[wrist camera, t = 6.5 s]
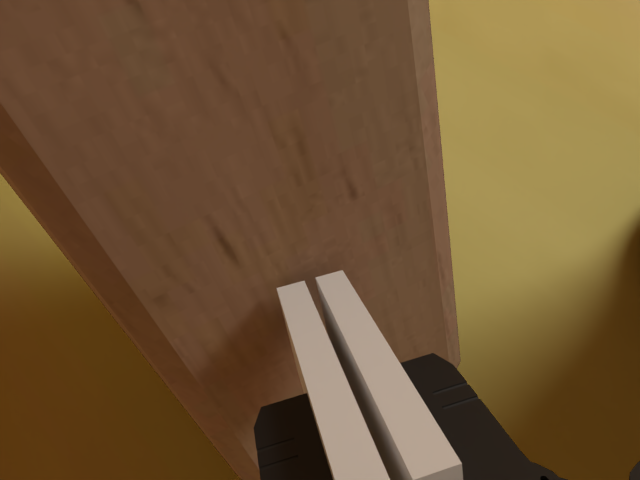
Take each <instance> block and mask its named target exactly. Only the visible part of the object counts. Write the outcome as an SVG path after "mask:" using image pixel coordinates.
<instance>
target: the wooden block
mask: <svg viewBox="0 0 640 480" xmlns="http://www.w3.org/2000/svg"><path fill="white" fill-rule="evenodd" d="M0 173H1V175H2V176H3V177H4V178H5V180H6V181H7V182H8V184H9V185H10V186H11V187H12V189H13V190H14V191H15V192H16V194H17V195H18V196H19V198H20V199H21V200H22V201H23V203H24V204H25V205H26V206H27V208H28V209H29V210H30V212H31V213H32V214H33V215H34V217H35V218H36V219H37V221H38V222H39V223H40V224H41V226H42V227H43V228H44V229H45V231H46V232H47V233H48V235H49V236H50V237H51V238H52V240H53V241H54V242H55V244H56V245H57V246H58V247H59V249H60V250H61V251H62V252H63V254H64V255H65V256H66V258H67V259H68V260H69V261H70V263H71V264H72V265H73V266H74V268H75V269H76V270H77V272H78V273H79V274H80V275H81V277H82V278H83V279H84V281H85V282H86V283H87V284H88V286H89V287H90V288H91V289H92V291H93V292H94V293H95V295H96V296H97V297H98V298H99V300H100V301H101V302H102V303H103V305H104V306H105V307H106V309H107V310H108V311H109V312H110V314H111V315H112V316H113V318H114V319H115V320H116V321H117V323H118V324H119V325H120V326H121V328H122V329H123V330H124V332H125V333H126V334H127V335H128V337H129V338H130V339H131V341H132V342H133V343H134V344H135V346H136V347H137V348H138V349H139V351H140V352H141V353H142V355H143V356H144V357H145V358H146V360H147V361H148V362H149V363H150V365H151V366H152V367H153V369H154V370H155V371H156V372H157V374H158V375H159V376H160V378H161V379H162V380H163V381H164V383H165V384H166V385H167V386H168V388H169V389H170V390H171V392H172V393H173V394H174V395H175V397H176V398H177V399H178V400H179V402H180V403H181V404H182V406H183V407H184V408H185V409H186V411H187V412H188V413H189V415H190V416H191V417H192V418H193V420H194V421H195V422H196V423H197V425H198V426H199V427H200V429H201V430H202V431H203V432H204V434H205V435H206V436H207V438H208V439H209V440H210V441H211V443H212V444H213V445H214V446H215V448H216V449H217V450H218V452H219V453H220V454H221V455H222V457H223V458H224V459H225V460H226V462H227V463H228V464H229V466H230V467H231V468H232V469H233V471H234V472H235V473H236V474H237V475H238V476H239V477H240V478H241V479H242V480H260V470H259V465H258V457H257V450H256V443H255V435H254V425H255V423H256V420H257V417H258V414H259V411H260V408H261V407H263V406H266V405H269V404H272V403H276V402H279V401H282V400H285V399H289V398H292V397H295V396H299V395H302V394H304V391H303V388H302V384H301V381H300V378H299V374H298V371H297V367H296V363H295V359H294V355H293V351H292V347H291V343H290V339H289V335H288V332H287V328H286V324H285V320H284V316H283V312H282V308H281V304H280V300H279V296H278V292H277V288H279V287H282V286H286V285H290V284H293V283H297V282H301V281H305V283H306V286H307V288H308V290H309V293H310V295H311V297H312V300H313V302H314V304H315V307H316V309H317V311H318V313H319V316H320V318H321V320H322V323H323V325H324V327H325V330H326V325H325V321H324V316H323V311H322V307H321V302H320V297H319V292H318V288H317V283H316V278H315V277H319V276H323V275H326V274H330V273H334V272H337V271H341V270H343V272H344V273H345V275H346V276H347V278H348V280H349V281H350V283H351V285H352V286H353V288H354V289H355V291H356V293H357V294H358V296H359V298H360V299H361V301H362V302H363V304H364V306H365V307H366V309H367V311H368V312H369V314H370V315H371V317H372V319H373V320H374V322H375V323H376V325H377V327H378V328H379V330H380V332H381V333H382V335H383V336H384V338H385V340H386V341H387V343H388V345H389V346H390V348H391V349H392V351H393V353H394V354H395V356H396V357H397V359H398V361H399V362H400V363H401V362H405V361H408V360H411V359H415V358H418V357H421V356H424V355H428V354H431V353H434V354H436V355H438V356H439V357H441V358H443V359H445V360H446V361H448V362H450V363H452V364H453V365H454V366H455V367H456V369H457V367H458V365H459V363H460V362H461V361H460V349H459V338H458V327H457V316H456V304H455V293H454V282H453V271H452V260H451V248H450V237H449V226H448V215H447V203H446V192H445V181H444V170H443V159H442V147H441V136H440V125H439V114H438V102H437V91H436V80H435V69H434V58H433V46H432V35H431V24H430V13H429V1H428V0H0ZM326 332H327V330H326Z"/></svg>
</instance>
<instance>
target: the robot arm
mask: <svg viewBox="0 0 640 480" xmlns="http://www.w3.org/2000/svg"><path fill="white" fill-rule="evenodd" d="M315 278H316V283H317V288H318V292H319V297H320V302H321V307H322V311H323V316H324V321H325V325H326V330H327V332H326V330H325V327H324V325H323V323H322V320H321V318H320V316H319V313H318V311H317V309H316V307H315V304H314V302H313V300H312V297H311V295H310V293H309V290H308V288H307V286H306V283H305V281H301V282H297V283H293V284H290V285H286V286H282V287H279V288H277V292H278V296H279V300H280V304H281V308H282V312H283V316H284V320H285V324H286V328H287V332H288V335H289V339H290V343H291V347H292V351H293V355H294V359H295V363H296V367H297V371H298V374H299V378H300V381H301V384H302V388H303V391H304V394H302V395H299V396H295V397H292V398H289V399H285V400H282V401H279V402H276V403H272V404H269V405H266V406H263V407H261V408H260V411H259V414H258V417H257V420H256V423H255V425H254V435H255V443H256V450H257V457H258V465H259V470H260V480H567V479H563V478H560V477H558V476H557V475H556V474H555V473H554V472H552V471H550V470H548V469H546V468H544V467H542V466H540V465H538V464H536V463H532V462H530V461H529V460H528V458H527V457H526V456H525V455H524V454H523V453H522V452H521V451H520V450H519V448H518V447H517V446H516V444H515V443H514V442H513V441H512V439H511V438H510V437H509V435H508V434H507V433H506V432H505V430H504V429H503V428H502V426H501V425H500V424H499V423H498V421H497V420H496V419H495V417H494V416H493V415H492V414H491V412H490V411H489V410H488V408H487V407H486V406H485V405H484V403H483V402H482V401H481V400H480V399H478V397H477V394H476V393H475V392H474V391H473V389H472V388H471V387H470V385H467V382H466V380H465V379H464V378H463V376H462V375H461V374H460V373H459V371H458V370H457V369H456V367H455V366H454V365H453V364H452V363H450V362H448V361H446V360H445V359H443V358H441V357H439V356H438V355H436V354H434V353H431V354H428V355H424V356H421V357H418V358H415V359H411V360H408V361H405V362H401V363H400V362H399V361H398V359H397V357H396V356H395V354H394V353H393V351H392V349H391V348H390V346H389V345H388V343H387V341H386V340H385V338H384V336H383V335H382V333H381V332H380V330H379V328H378V327H377V325H376V323H375V322H374V320H373V319H372V317H371V315H370V314H369V312H368V311H367V309H366V307H365V306H364V304H363V302H362V301H361V299H360V298H359V296H358V294H357V293H356V291H355V289H354V288H353V286H352V285H351V283H350V281H349V280H348V278H347V276H346V275H345V273H344V272H343V270H341V271H337V272H334V273H330V274H326V275H323V276H319V277H315ZM629 480H640V461H639V462H638V463H637V464H636V465H635V467H634V468H633V469H632V471H631V472H630V477H629Z"/></svg>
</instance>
